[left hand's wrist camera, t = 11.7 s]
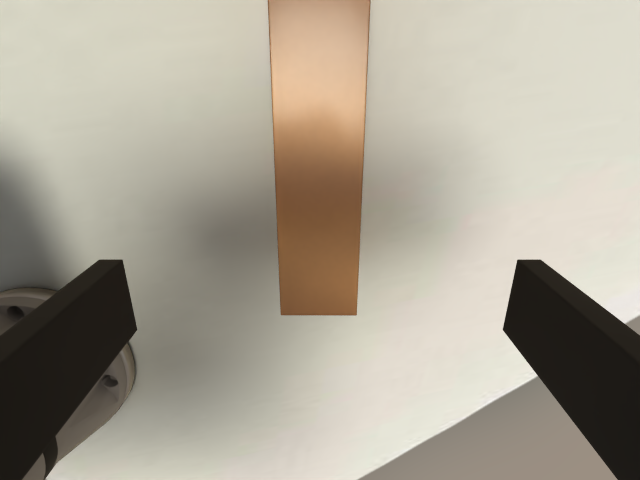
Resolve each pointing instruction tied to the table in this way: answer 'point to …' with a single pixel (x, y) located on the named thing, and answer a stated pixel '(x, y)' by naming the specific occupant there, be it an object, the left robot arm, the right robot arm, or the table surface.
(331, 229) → the bar
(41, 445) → the left robot arm
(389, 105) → the table surface
